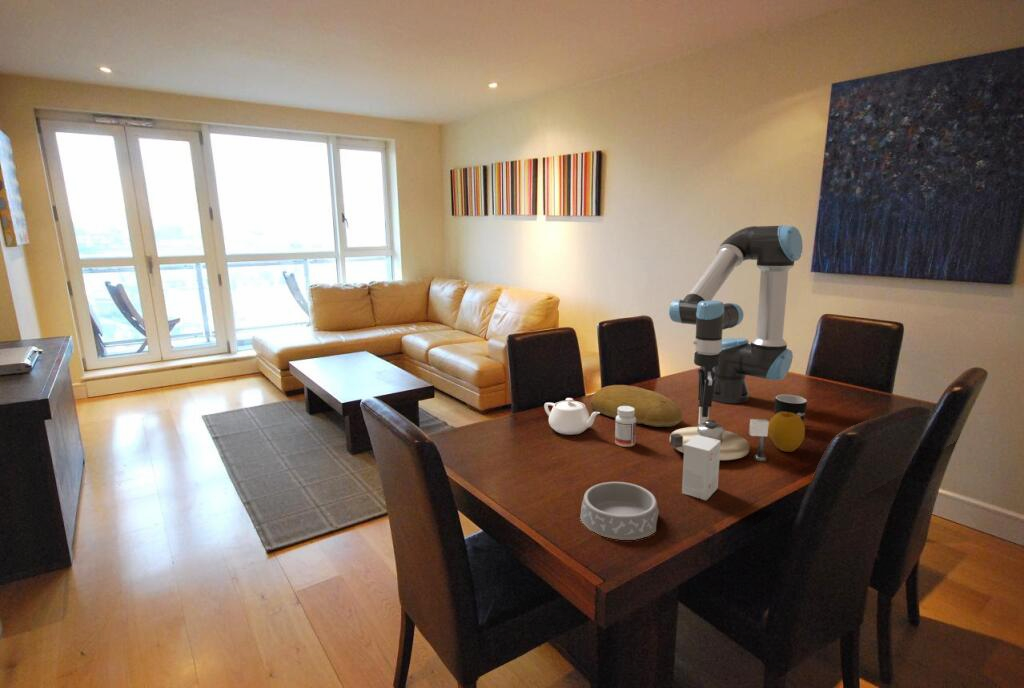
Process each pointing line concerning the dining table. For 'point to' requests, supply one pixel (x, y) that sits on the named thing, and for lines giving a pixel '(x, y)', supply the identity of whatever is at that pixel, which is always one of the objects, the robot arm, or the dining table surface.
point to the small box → (701, 467)
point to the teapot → (569, 417)
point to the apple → (786, 431)
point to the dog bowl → (619, 511)
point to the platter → (729, 446)
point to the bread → (637, 405)
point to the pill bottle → (625, 426)
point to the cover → (710, 430)
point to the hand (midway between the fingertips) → (703, 425)
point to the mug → (791, 405)
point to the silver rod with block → (759, 429)
